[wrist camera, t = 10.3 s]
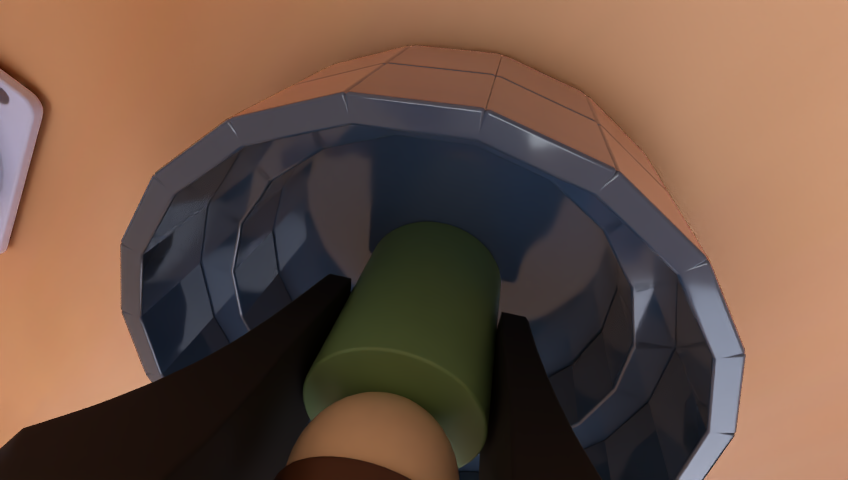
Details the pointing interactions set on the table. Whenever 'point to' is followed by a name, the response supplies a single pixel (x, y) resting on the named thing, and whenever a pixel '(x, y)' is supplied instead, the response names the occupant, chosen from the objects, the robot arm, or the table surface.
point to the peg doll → (405, 364)
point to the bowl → (465, 209)
